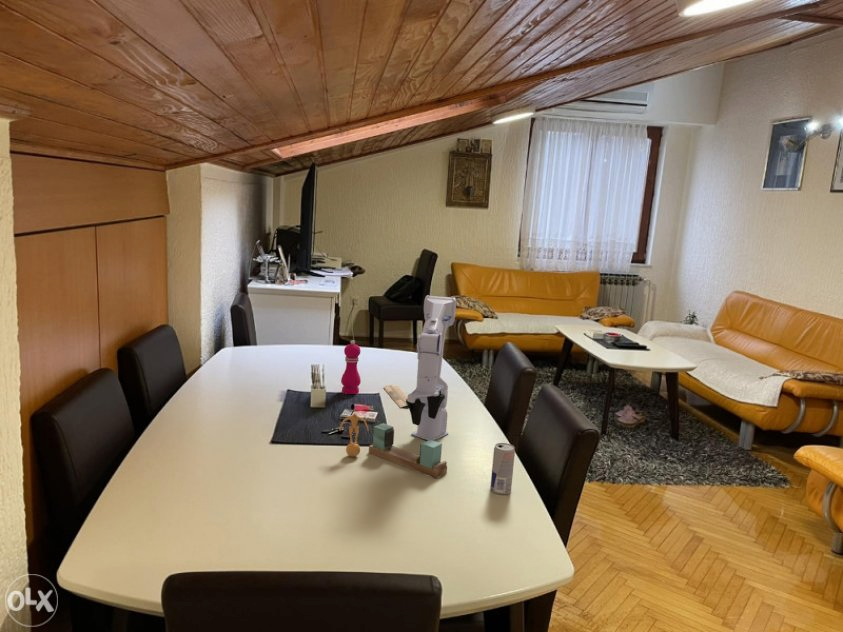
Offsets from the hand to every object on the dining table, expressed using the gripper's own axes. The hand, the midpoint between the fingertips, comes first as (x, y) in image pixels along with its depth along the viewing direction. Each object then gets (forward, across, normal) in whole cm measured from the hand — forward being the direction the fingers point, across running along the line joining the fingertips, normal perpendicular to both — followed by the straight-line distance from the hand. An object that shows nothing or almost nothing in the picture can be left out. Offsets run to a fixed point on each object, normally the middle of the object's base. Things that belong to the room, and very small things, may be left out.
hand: (424, 421), depth 180 cm
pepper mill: (+11, +27, +54) cm, 61 cm away
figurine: (+11, -14, +14) cm, 22 cm away
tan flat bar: (+11, +36, +38) cm, 54 cm away
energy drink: (+11, -3, -28) cm, 30 cm away
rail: (+10, -7, 0) cm, 13 cm away
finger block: (+8, -7, -8) cm, 14 cm away
